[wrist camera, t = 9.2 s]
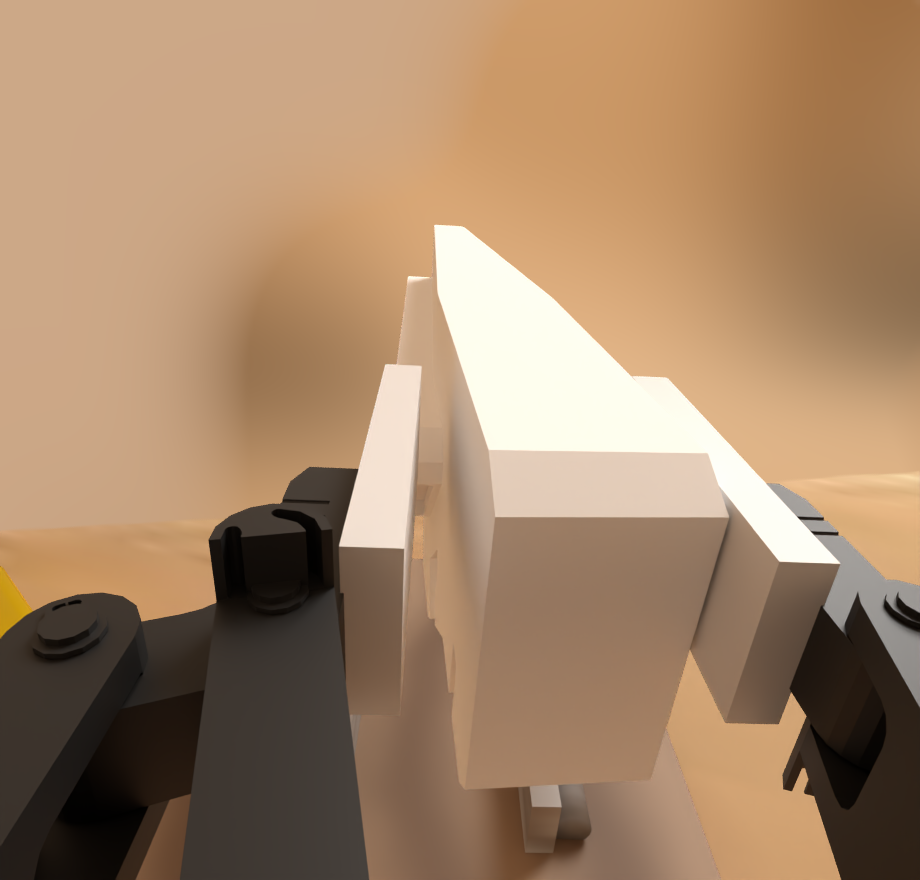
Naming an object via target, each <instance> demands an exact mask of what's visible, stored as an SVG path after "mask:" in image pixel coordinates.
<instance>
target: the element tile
mask: <svg viewBox="0 0 920 880" xmlns="http://www.w3.org/2000/svg"><path fill="white" fill-rule="evenodd" d="M31 612H33V611H32V609H31V608H30V606H29V605H28V603H27V602H26V600H25V599H24V597H23V596H22V594H21V593H20V592H19V590H18V589H17V587H16V586H15V584H14V583H13V581H12V580H11V578H10V577H9V575H8V574H7V573H6V571H5V570H4V568H3V567H1V566H0V638H1V637H2V636H3V635H4V634H5V632H6V631H7V630H9V629H10V628H11V627H12V626H13V625H15V624H16V623H17V622H18V621H20V620H21V619H22V618H23V617H24V616H26V615H27V614H29V613H31Z"/></svg>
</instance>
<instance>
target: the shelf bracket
mask: <svg viewBox="0 0 920 880" xmlns="http://www.w3.org/2000/svg"><path fill="white" fill-rule="evenodd" d="M433 244H434V245H433V264H432V277H412V276H408V282H407V290H406V297H405V305H404V313H403V320H402V327H401V336H400V343H399V351H398V358H397V365H411V366H422V371H421V400H420V429H419V459H418V483H417V497H416V510H415V516H424V519H423V568H424V578H425V589H426V600H427V611H428V617H429V618H430V619H435V626H436V628H437V630H438V631H439V633H440V634H441V636H442V638H443V645H444V654H445V663H446V672H447V681H448V689H449V693H451V692H454V696H453V707H452V724H453V733H454V742H455V751H456V759H457V768H458V777H459V783H460V784H461V785H462V787H463V788H464V789H465V790H470V789H489V788H508V787H527V786H545V785H564V784H583V783H602V782H621V781H639V780H651V777H652V774H653V770H654V767H655V764H656V760H657V757H658V753H659V750H660V747H661V743H662V740H663V737H664V733H665V730H666V727H667V723H668V720H669V717H670V713H671V710H672V707H673V703H674V700H675V697H676V693H677V690H678V687H679V683H680V680H681V677H682V673H683V670H684V667H685V663H686V660H687V657H688V653H689V650H690V647H691V643H692V640H693V637H694V633H695V630H696V627H697V623H698V620H699V617H700V613H701V610H702V607H703V603H704V600H705V597H706V593H707V590H708V587H709V583H710V580H711V577H712V573H713V570H714V567H715V563H716V560H717V557H718V553H719V550H720V547H721V543H722V540H723V537H724V533H725V530H726V527H727V523H728V520H729V515H728V512H727V509H726V506H725V503H724V500H723V497H722V494H721V491H720V488H719V485H718V482H717V479H716V476H715V473H714V470H713V467H712V464H711V461H710V458H709V455H708V453H707V452H706V451H705V450H704V449H703V448H702V447H701V446H700V445H699V444H698V443H697V442H696V441H695V440H694V439H693V438H692V437H691V436H690V435H689V434H688V433H687V432H686V431H685V430H684V429H683V428H682V427H681V426H680V425H679V424H678V423H677V422H676V421H675V420H674V419H673V418H672V417H671V416H670V415H669V414H668V413H667V412H666V411H665V410H664V409H663V408H662V407H661V406H660V405H659V404H658V403H657V402H656V401H655V400H654V399H653V398H652V397H651V396H650V395H649V394H648V393H647V392H646V391H645V390H644V389H643V388H642V387H641V386H640V385H639V384H638V383H637V382H636V381H635V380H634V379H633V378H632V377H631V376H630V375H629V374H628V373H627V372H626V371H625V370H624V369H623V368H622V367H621V366H620V365H619V364H618V363H617V362H616V361H615V360H614V359H613V358H612V357H611V356H610V355H609V354H608V353H607V352H606V351H605V350H604V349H603V348H602V347H601V346H600V345H599V344H598V343H597V342H596V341H595V340H594V339H593V338H592V337H591V336H590V335H589V334H588V333H587V332H586V331H585V330H584V329H583V328H582V327H581V326H580V325H579V324H578V323H577V322H576V321H575V320H574V319H573V318H572V317H571V316H570V315H569V314H568V313H567V312H566V311H565V310H564V309H563V308H562V307H561V306H560V305H559V304H558V303H557V302H556V301H555V300H554V299H553V298H552V297H550V296H549V295H548V294H547V293H546V292H544V291H543V290H542V289H541V288H539V287H538V286H537V285H535V284H534V283H533V282H532V281H531V280H529V279H528V278H527V277H526V276H524V275H523V274H522V273H521V272H519V271H518V270H517V269H516V268H514V267H513V266H512V265H510V264H509V263H508V262H507V261H506V260H504V259H503V258H502V257H500V256H499V255H498V254H497V253H495V252H494V251H493V250H492V249H491V248H489V247H488V246H487V245H485V244H484V243H483V242H482V241H481V240H479V239H478V238H477V237H476V236H474V235H473V234H472V233H471V232H469V231H468V230H467V229H466V228H464V227H460V226H443V225H434V243H433Z"/></svg>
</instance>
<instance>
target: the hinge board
mask: <svg viewBox="0 0 920 880" xmlns="http://www.w3.org/2000/svg"><path fill="white" fill-rule="evenodd" d="M453 696H454V692H451V693H449V689H448V681H447V672H446V663H445V654H444V645H443V638H442V636H441V634H440V633H439V631H438V630H437V628H436V626H435V619H430V618H429V617H428V611H427V600H426V589H425V578H424V568H423V559H412V563H411V576H410V590H409V603H408V616H407V630H406V643H405V656H404V669H403V683H402V696H401V709H400V716H392V715H350V722H351V731H352V739H353V747H354V756H355V764H356V773H357V781H358V789H359V798H360V806H361V814H362V823H363V831H364V839H365V848H366V856H367V864H368V873H369V880H721V877H720V875H719V872H718V869H717V867H716V864H715V861H714V858H713V856H712V853H711V850H710V847H709V845H708V842H707V839H706V836H705V834H704V831H703V828H702V825H701V823H700V820H699V817H698V814H697V812H696V809H695V806H694V803H693V801H692V798H691V795H690V792H689V790H688V787H687V784H686V781H685V779H684V776H683V773H682V770H681V768H680V765H679V762H678V759H677V757H676V754H675V751H674V749H673V746H672V743H671V740H670V738H669V735H668V732H667V729H666V730H665V733H664V737H663V740H662V743H661V747H660V750H659V753H658V757H657V760H656V764H655V767H654V770H653V774H652V777H651V780H639V781H621V782H602V783H583V784H564V785H545V786H527V787H508V788H489V789H470V790H465V789H464V788H463V787H462V785H461V784H460V783H459V777H458V768H457V759H456V751H455V742H454V733H453V724H452V707H453ZM190 798H191V794H189V795H185V796H182V797H178V798H175V799H171V800H170V801H169V803H168V805H167V808H166V810H165V812H164V815H163V817H162V819H161V822H160V824H159V826H158V829H157V831H156V833H155V836H154V838H153V840H152V843H151V845H150V847H149V850H148V852H147V854H146V857H145V859H144V861H143V864H142V866H141V868H140V871H139V873H138V875H137V878H136V880H180V873H181V866H182V858H183V850H184V843H185V835H186V828H187V820H188V813H189V805H190Z"/></svg>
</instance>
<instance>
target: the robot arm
mask: <svg viewBox="0 0 920 880" xmlns="http://www.w3.org/2000/svg"><path fill="white" fill-rule="evenodd" d="M421 371H422V366H411V365H391V364H386V365H385V369H384V373H383V376H382V380H381V384H380V388H379V392H378V396H377V400H376V404H375V407H374V411H373V415H372V419H371V423H370V427H369V431H368V435H367V439H366V442H365V446H364V450H363V454H362V458H361V462H360V466H359V469H345V468H322V467H320V468H319V467H309V468H307V469H306V470H305V471H303V472H302V473H301V474H300V475H298V476H297V477H296V478H294V479H293V480H292V481H291V482H290V484H289V486H288V488H287V490H286V492H285V495H284V497H283V501H282V503H281V504H268V505H263V506H257V507H251V508H248V509H246V510H243V511H241V512H238V513H236V514H233V515H231V516H229V517H228V518H227V519H225V520H224V521H223V522H221V523H220V524H219V525H217V526H216V527H215V529H214V531H213V533H212V535H211V536H210V538H209V547H210V555H211V562H212V569H213V577H214V584H215V592H216V599H217V602H216V603H215V604H212V605H210V606H208V607H205V608H203V609H200V610H196V611H192V612H188V613H185V614H180V615H175V616H169V617H164V618H159V619H153V620H148V621H143V622H141V618H140V615H139V612H138V609H137V606H136V605H135V604H133V603H132V602H130V601H129V600H127V599H126V598H124V597H123V596H118V595H112V594H107V593H92V594H80V595H75V596H71V597H68V598H64V599H61V600H57V601H54V602H51V603H49V604H47V605H45V606H43V607H41V608H39V609H37V610H35V611H33V612H31V613H29V614H27V615H26V616H24V617H23V618H22V619H21V620H20V621H18V622H17V623H16V624H15V625H13V626H12V627H11V628H10V629H9V630H7V631H6V632H5V634H4V635H3V636H2V637H1V638H0V880H136V878H137V875H138V873H139V871H140V868H141V866H142V864H143V861H144V859H145V857H146V854H147V852H148V850H149V847H150V845H151V843H152V840H153V838H154V836H155V833H156V831H157V829H158V826H159V824H160V822H161V819H162V817H163V815H164V812H165V810H166V808H167V805H168V803H169V801H170V800H171V799H175V798H178V797H182V796H185V795H189V794H191V798H190V805H189V813H188V820H187V828H186V835H185V843H184V850H183V858H182V866H181V873H180V880H369V873H368V864H367V856H366V848H365V839H364V831H363V823H362V814H361V806H360V798H359V789H358V781H357V773H356V764H355V756H354V747H353V739H352V731H351V722H350V715H392V716H400V709H401V696H402V683H403V669H404V656H405V643H406V630H407V616H408V603H409V590H410V576H411V563H412V550H413V536H414V523H415V510H416V497H417V483H418V459H419V429H420V400H421ZM632 378H633V379H634V380H635V381H636V382H637V383H638V384H639V385H640V386H641V387H642V388H643V389H644V390H645V391H646V392H647V393H648V394H649V395H650V396H651V397H652V398H653V399H654V400H655V401H656V402H657V403H658V404H659V405H660V406H661V407H662V408H663V409H664V410H665V411H666V412H667V413H668V414H669V415H670V416H671V417H672V418H673V419H674V420H675V421H676V422H677V423H678V424H679V425H680V426H681V427H682V428H683V429H684V430H685V431H686V432H687V433H688V434H689V435H690V436H691V437H692V438H693V439H694V440H695V441H696V442H697V443H698V444H699V445H700V446H701V447H702V448H703V449H704V450H705V451H706V452H707V453H708V455H709V458H710V461H711V464H712V467H713V470H714V473H715V476H716V479H717V482H718V485H719V488H720V491H721V494H722V497H723V500H724V503H725V506H726V509H727V512H728V515H729V520H728V523H727V527H726V530H725V533H724V537H723V540H722V543H721V547H720V550H719V553H718V557H717V560H716V563H715V567H714V570H713V573H712V577H711V580H710V583H709V587H708V590H707V593H706V597H705V600H704V603H703V607H702V610H701V613H700V617H699V620H698V623H697V627H696V630H695V633H694V637H693V640H692V643H691V647H690V651H691V653H692V655H693V657H694V659H695V661H696V663H697V665H698V667H699V669H700V671H701V674H702V676H703V678H704V680H705V682H706V684H707V686H708V688H709V690H710V692H711V694H712V696H713V698H714V701H715V703H716V705H717V707H718V709H719V711H720V713H721V715H722V717H723V719H724V721H725V723H748V724H779V722H780V719H781V717H782V714H783V712H784V709H785V706H786V704H787V701H788V699H789V696H790V693H791V692H792V694H793V695H794V697H795V698H796V700H797V702H798V703H799V705H800V706H801V708H802V710H803V711H804V713H805V714H806V716H807V717H806V719H805V722H804V724H803V726H802V729H801V731H800V734H799V736H798V739H797V741H796V744H795V746H794V748H793V751H792V753H791V756H790V758H789V761H788V763H787V765H786V768H785V770H784V773H783V789H784V790H789V791H792V790H793V788H794V785H795V783H796V781H797V778H798V776H799V774H800V771H801V769H802V768H805V769H806V772H807V775H808V778H809V780H808V782H807V785H806V787H805V790H804V793H805V794H808V795H812V796H814V797H815V800H816V803H817V806H818V809H819V812H820V815H821V818H822V822H823V825H824V828H825V831H826V834H827V837H828V840H829V843H830V846H831V849H832V852H833V855H834V859H835V862H836V865H837V868H838V871H839V874H840V877H841V880H920V586H918V585H914V584H910V583H906V582H902V581H898V580H886V579H885V578H884V577H883V576H882V575H881V574H880V573H879V572H878V571H877V570H876V569H875V568H874V567H873V566H872V565H871V564H870V563H869V562H868V561H867V560H866V559H865V558H864V557H863V556H862V555H861V554H860V553H859V552H858V551H857V550H856V549H855V548H854V547H853V546H852V545H851V544H850V543H849V542H848V541H847V540H846V539H845V538H844V537H843V536H839V535H838V531H837V530H836V529H835V528H834V527H833V526H832V525H831V524H830V523H829V522H828V521H824V517H823V516H822V515H821V514H820V513H819V512H818V511H817V510H816V509H815V508H814V507H813V506H812V505H811V504H810V503H809V502H808V501H807V500H806V499H804V498H802V497H801V496H799V495H797V494H795V493H794V492H792V491H790V490H789V489H787V488H785V487H784V486H782V485H780V484H769V483H765V482H764V481H763V480H762V479H761V478H760V477H759V476H758V475H757V474H756V473H755V472H754V470H753V469H752V468H751V467H750V466H749V465H748V464H747V463H746V462H745V461H744V460H743V459H742V457H741V456H740V455H739V454H738V453H737V452H736V451H735V450H734V449H733V448H732V447H731V446H730V445H729V444H728V442H727V441H726V440H725V439H724V438H723V437H722V436H721V435H720V434H719V433H718V432H717V431H716V430H715V428H714V427H713V426H711V424H710V423H709V422H708V421H707V420H706V419H705V418H704V417H703V416H702V415H701V413H700V412H699V411H698V410H697V409H696V408H695V407H694V406H693V405H692V404H691V403H690V402H689V401H688V400H687V399H686V397H684V395H683V394H682V393H681V392H680V391H679V390H678V389H677V388H676V387H675V386H674V385H673V383H672V382H671V381H670V380H669V379H668V378H661V377H660V378H659V377H639V376H633V377H632Z"/></svg>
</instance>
